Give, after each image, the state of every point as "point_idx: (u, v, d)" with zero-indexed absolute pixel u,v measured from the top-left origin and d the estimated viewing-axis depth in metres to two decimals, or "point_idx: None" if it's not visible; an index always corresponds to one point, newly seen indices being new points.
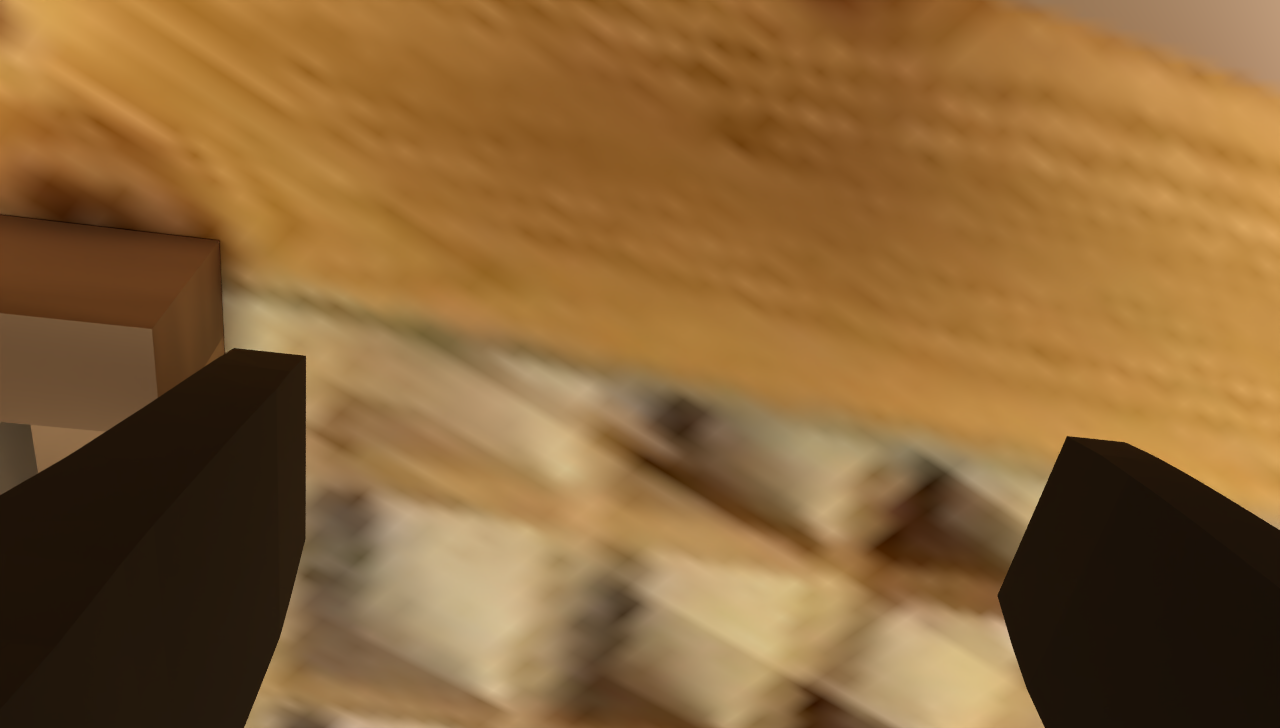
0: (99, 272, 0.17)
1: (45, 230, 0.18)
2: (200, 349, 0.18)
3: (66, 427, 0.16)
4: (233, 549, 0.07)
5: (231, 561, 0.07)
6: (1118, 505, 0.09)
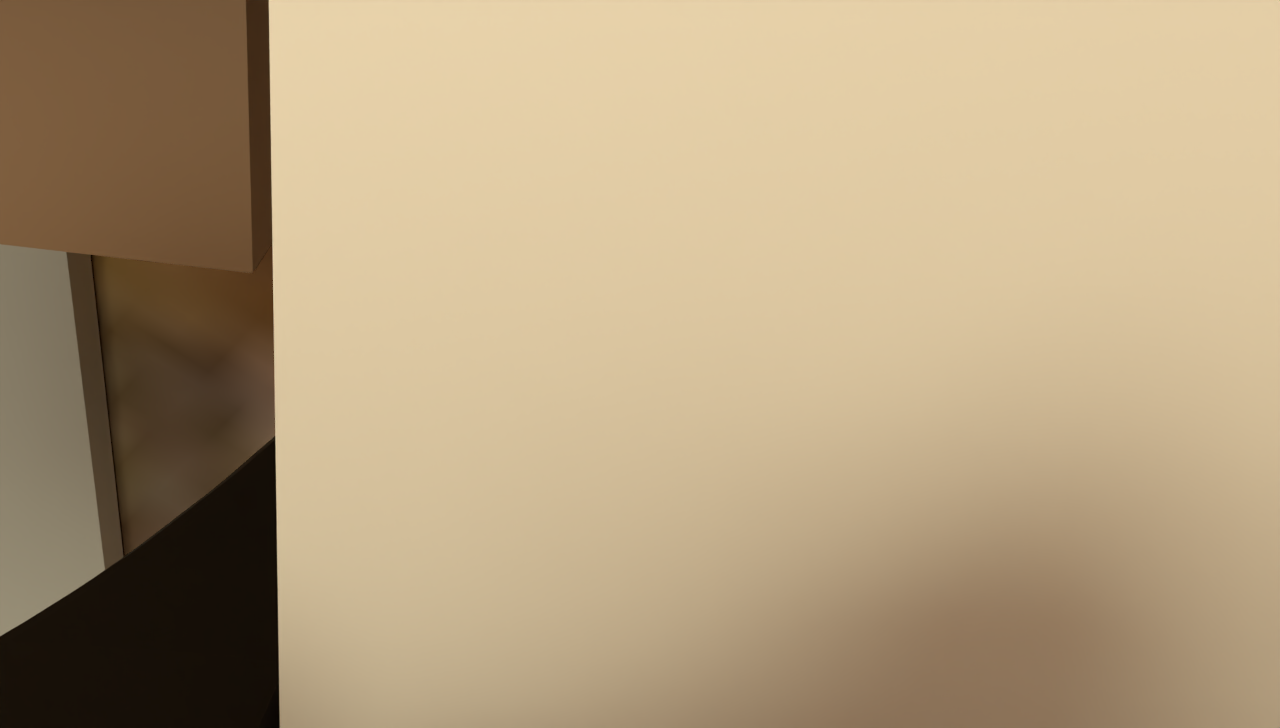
0: None
1: None
2: None
3: None
4: None
5: None
6: None
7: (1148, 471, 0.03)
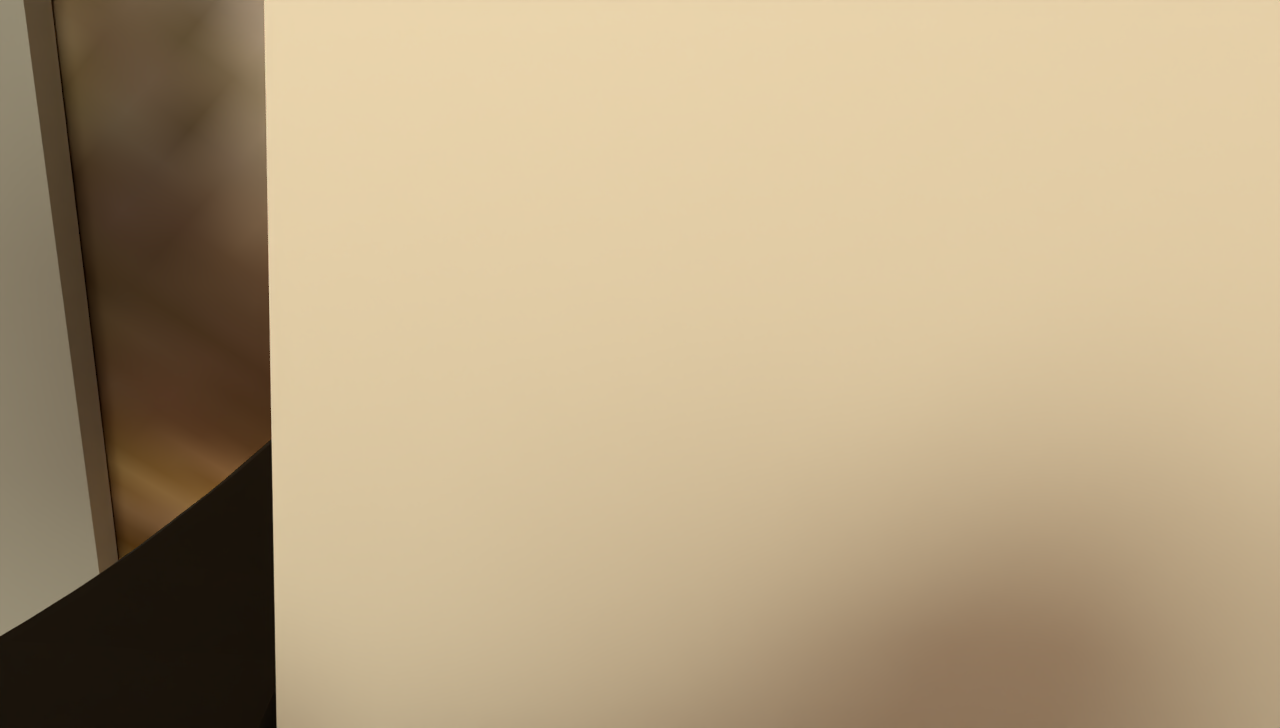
0: None
1: None
2: None
3: None
4: None
5: None
6: None
7: (1178, 444, 0.03)
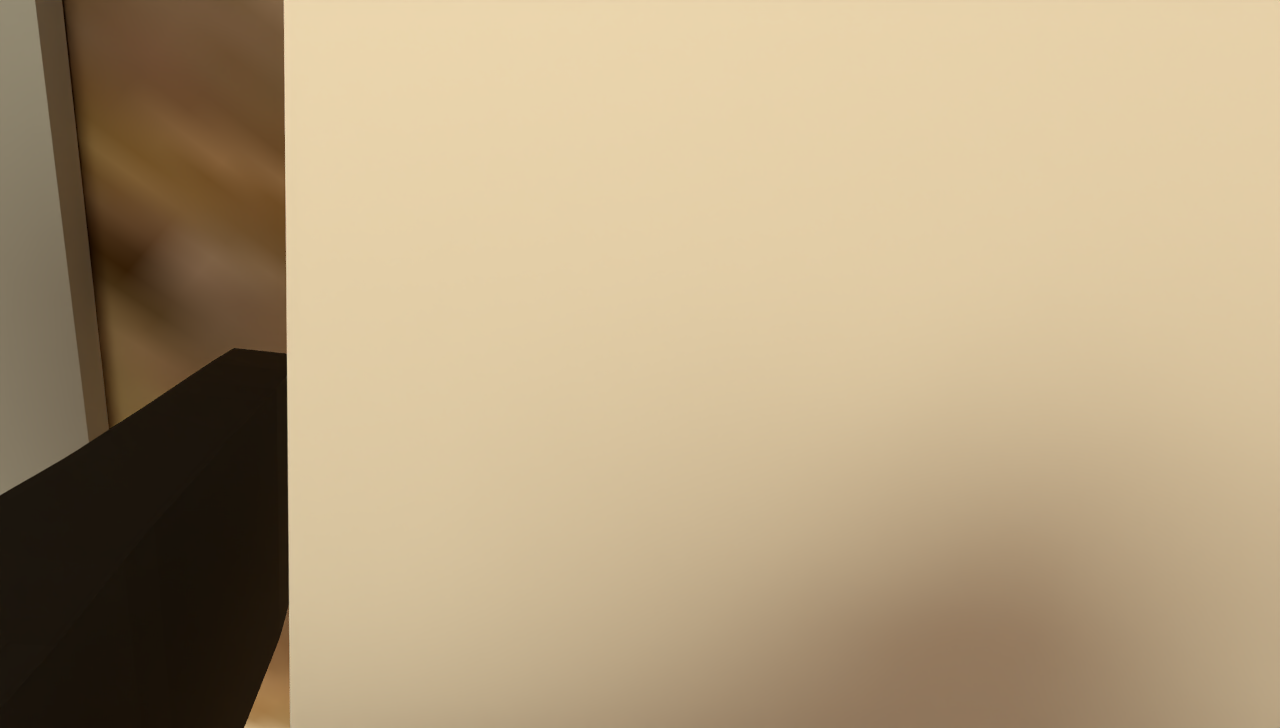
0: None
1: None
2: None
3: None
4: (233, 549, 0.07)
5: (232, 560, 0.07)
6: None
7: (1150, 417, 0.03)
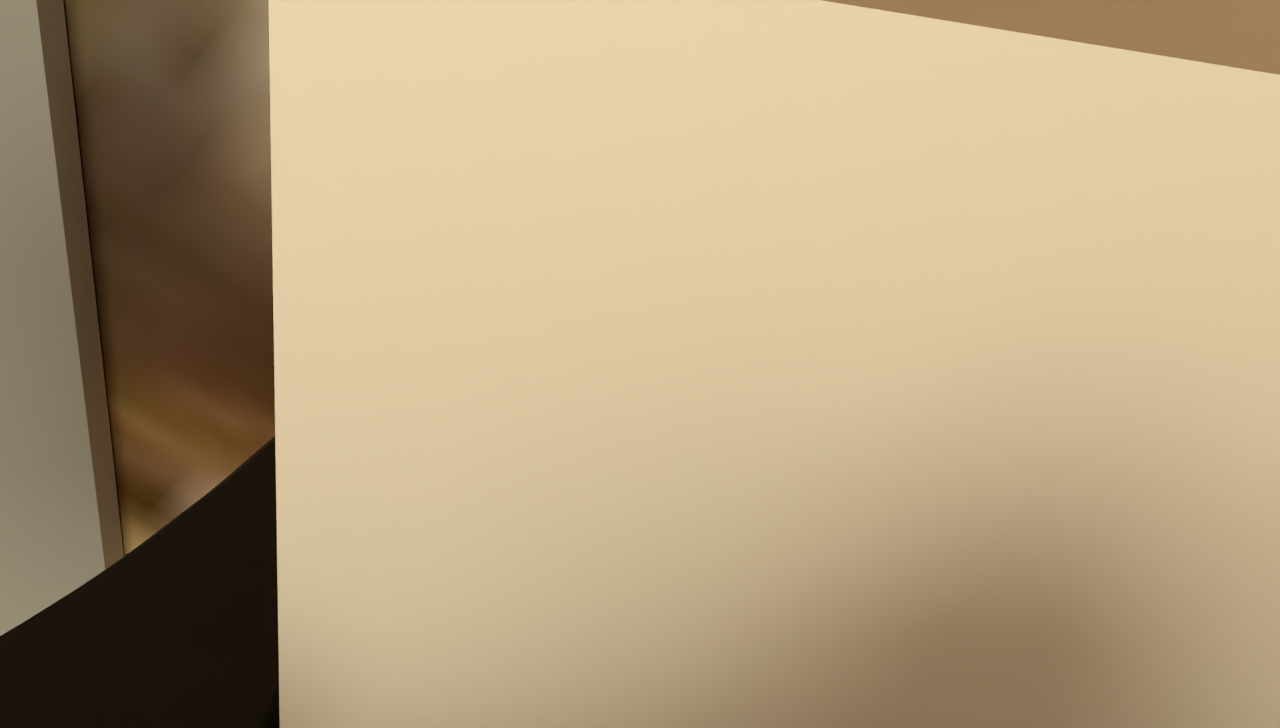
0: None
1: None
2: None
3: None
4: None
5: None
6: None
7: None
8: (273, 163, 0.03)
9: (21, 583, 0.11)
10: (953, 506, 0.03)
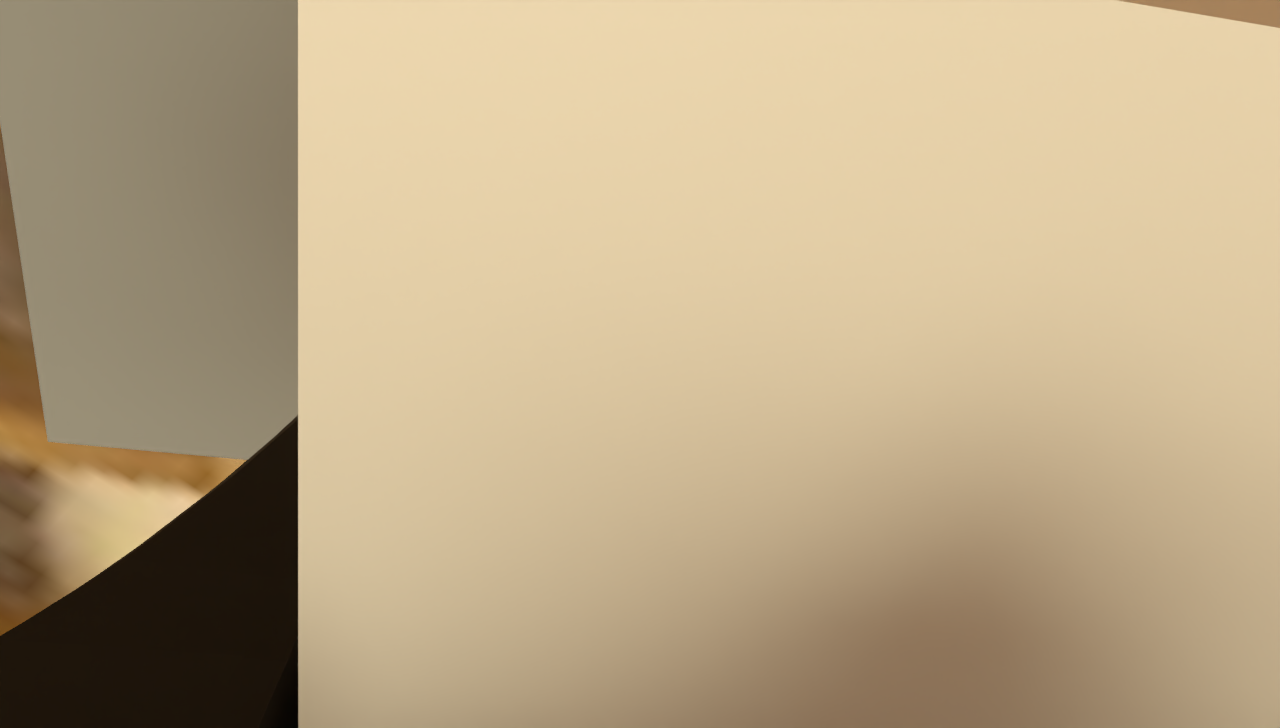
0: None
1: None
2: None
3: None
4: None
5: None
6: None
7: None
8: None
9: None
10: (962, 459, 0.03)
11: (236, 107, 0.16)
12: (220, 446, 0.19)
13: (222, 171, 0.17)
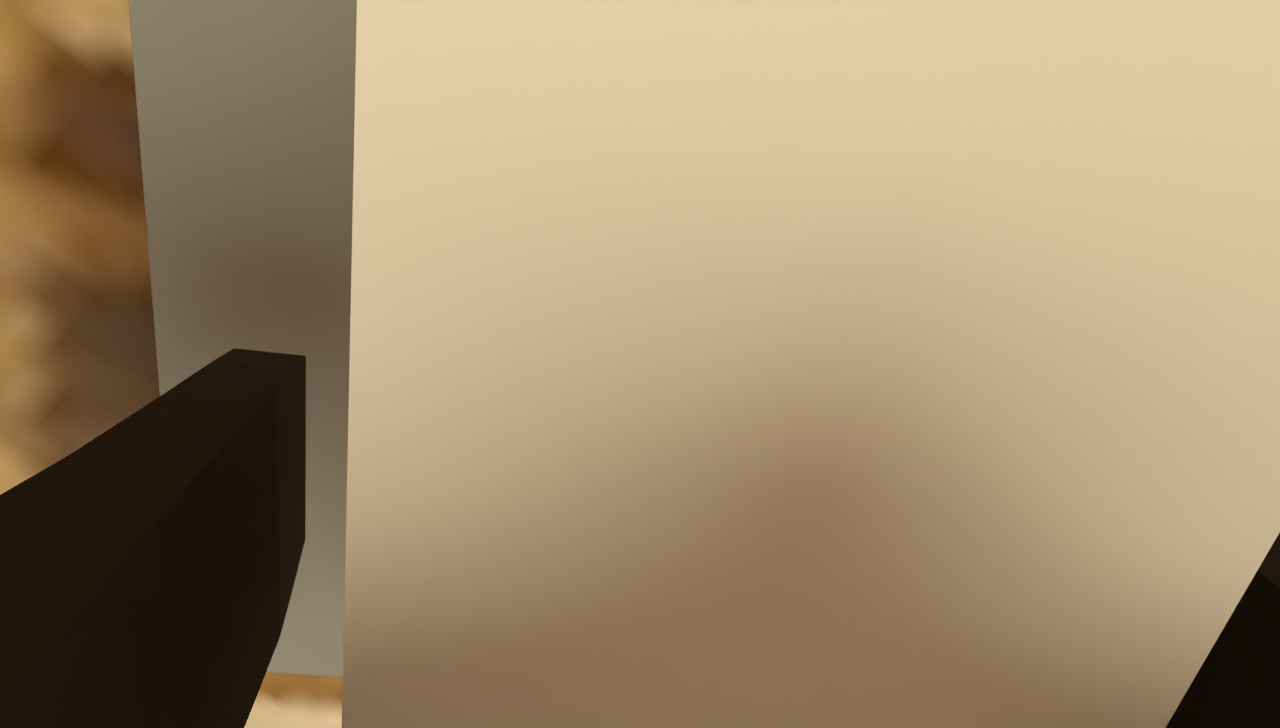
0: None
1: None
2: None
3: None
4: (233, 549, 0.07)
5: (232, 560, 0.07)
6: None
7: (833, 702, 0.06)
8: (357, 25, 0.04)
9: None
10: (846, 292, 0.05)
11: None
12: None
13: None
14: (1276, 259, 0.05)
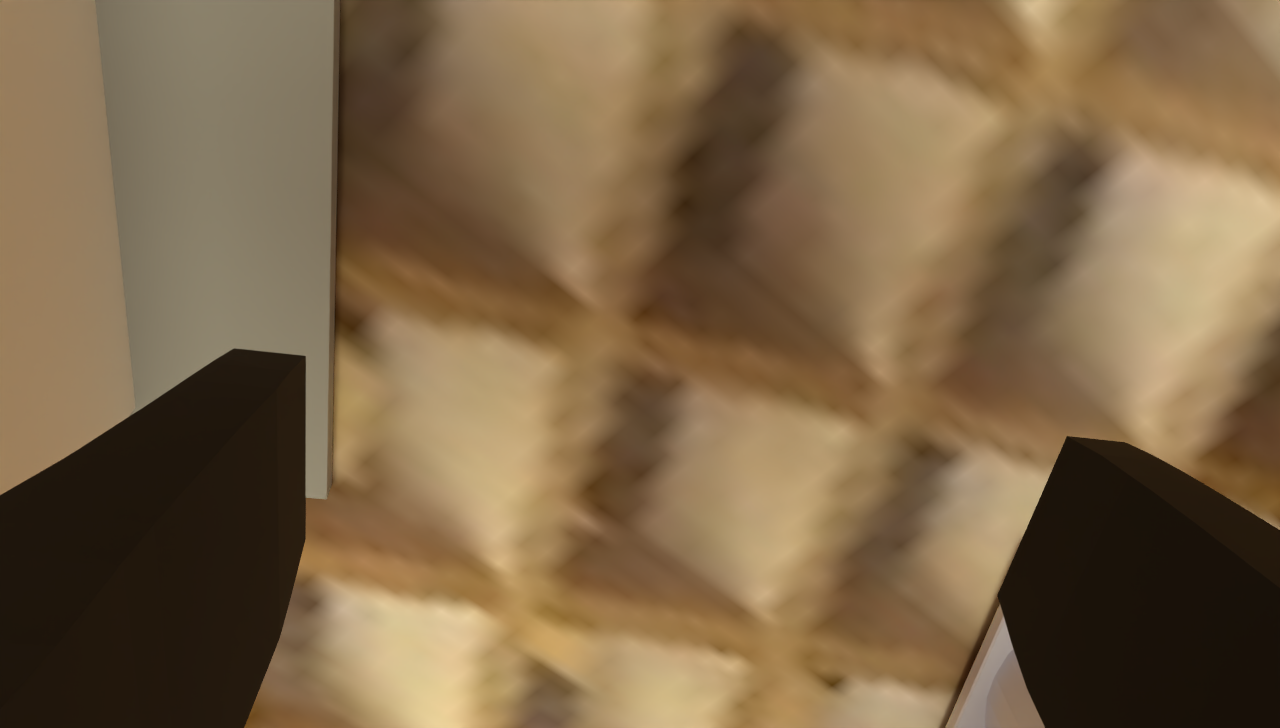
0: None
1: None
2: None
3: None
4: (233, 549, 0.07)
5: (232, 560, 0.07)
6: (1118, 505, 0.09)
7: None
8: None
9: None
10: None
11: None
12: None
13: None
14: None
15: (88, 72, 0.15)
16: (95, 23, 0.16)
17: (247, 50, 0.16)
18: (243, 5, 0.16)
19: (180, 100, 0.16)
